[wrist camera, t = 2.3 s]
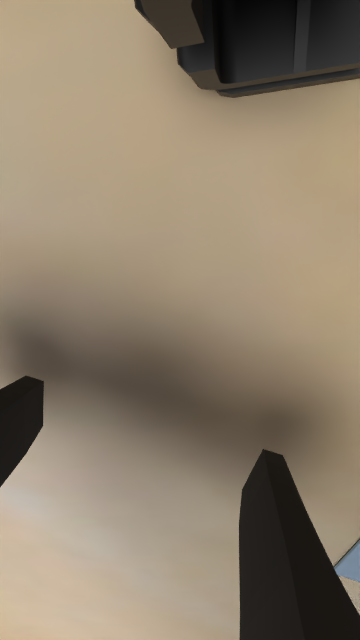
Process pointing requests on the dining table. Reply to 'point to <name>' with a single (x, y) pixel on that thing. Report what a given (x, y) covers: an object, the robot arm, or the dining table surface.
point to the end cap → (260, 41)
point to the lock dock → (350, 564)
